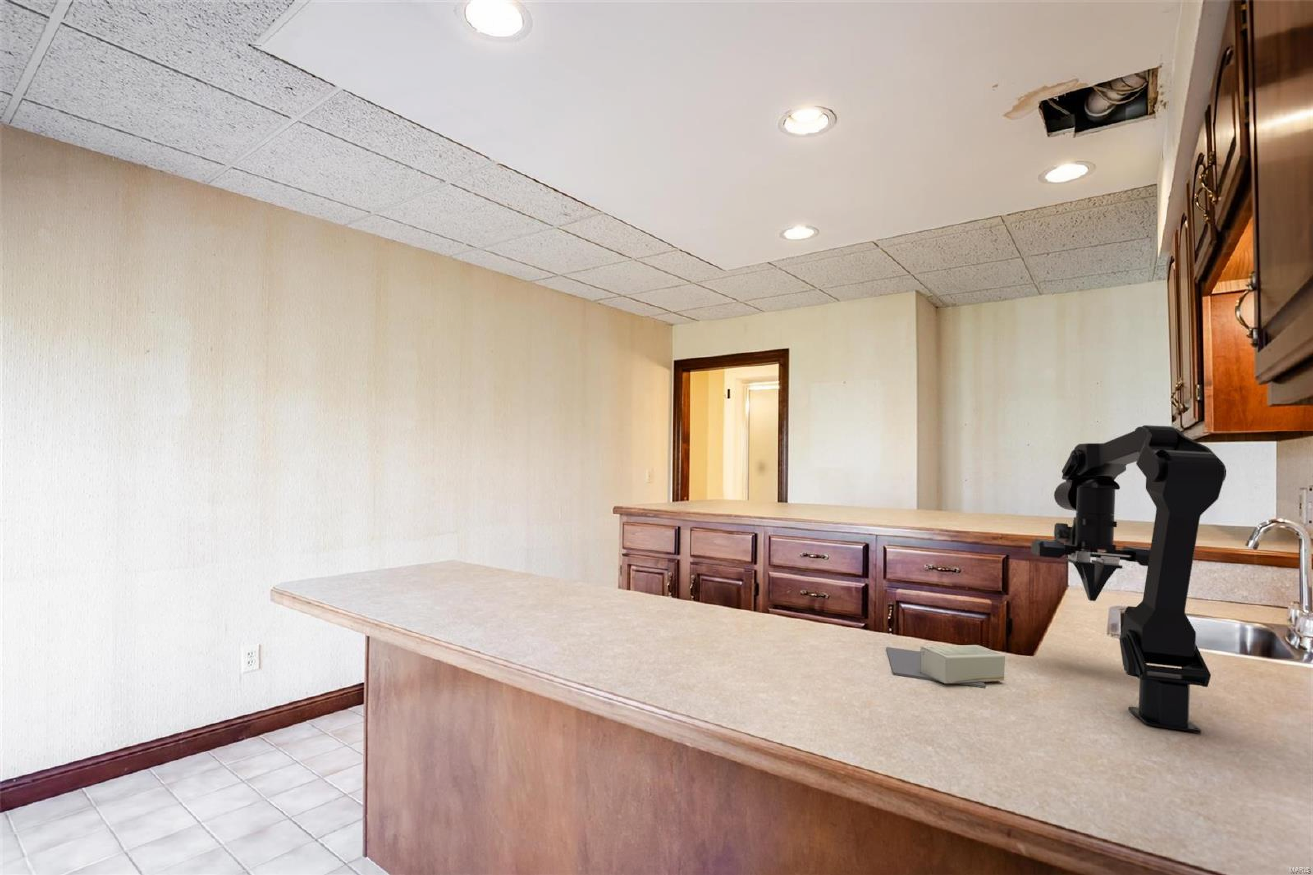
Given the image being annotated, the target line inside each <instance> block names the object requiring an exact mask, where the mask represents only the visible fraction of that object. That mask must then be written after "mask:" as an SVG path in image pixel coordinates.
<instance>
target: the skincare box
mask: <svg viewBox="0 0 1313 875" xmlns="http://www.w3.org/2000/svg"><path fill="white" fill-rule="evenodd" d="M1005 666H1006V655H1005V654H1003V653H1000V652H998V651H995V650H992V649H990V648H987V647H984V646H982V645H978V644H969V645H968V644H966V645H963V644H962V645H933V646H931V645H930V646H929V645H927V646H925V645H924V646H920V672H922V673H924V674H926V675H928V676H930V677H932V678H934V679H936V680H938V681H937V682H940V681H941V682H940V683H944V684H954V683H964V682H984V683H985V682H1001V681H1002V682H1004V681H1005Z"/></svg>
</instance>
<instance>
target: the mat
mask: <svg viewBox="0 0 1313 875" xmlns="http://www.w3.org/2000/svg"><path fill="white" fill-rule="evenodd" d="M885 651H886V654H887V657H888V660H889V664H890V668H891V672H892V675H893V676H899V677H906V678H914V679H920V680H928V681H934V682H940V683H942V682H941V681H938V680H936V679H934V678H932V677H930V676H928V675H926V674H924V673H922V672H920V651H919V650H913V649H911V650H910V649H904V648H897V647H890V646H886V647H885ZM953 684H955V685H960V686H968V685H971V686H970V687H975V686H980V687H979V688H982V687H986V686H987V685H986V684H985V682H964V683H953Z"/></svg>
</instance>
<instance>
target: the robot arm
mask: <svg viewBox="0 0 1313 875" xmlns="http://www.w3.org/2000/svg"><path fill="white" fill-rule="evenodd" d="M1133 463H1136V464H1135V465H1136V466H1137V467H1138V469H1139V470H1140V472H1142V474H1143V475H1144V476H1145V491H1146V492H1147V494H1148V495H1149V497H1150V499H1151V500H1152V502H1153V504H1154V506H1155V508H1156V509H1155V515H1154V516H1155V517H1154V522H1153V523H1154V524H1153V529H1152V537H1151V542H1150V548H1147V547H1140V546H1128V545H1123V546H1122V548H1121V549H1118V548H1117V545H1116V544H1114V541H1115V540H1114V538H1115V537H1114V535H1115V534H1114V533H1115V532H1114V531H1115V528H1117V526H1118V522H1117V521H1116V520H1115V509H1116V508H1115V507H1116V506H1115V505H1116V490H1117V491H1118V490H1120V488H1121V486H1120V484H1119V483H1118V482H1117V481H1116V478H1117V477H1118V476H1120V475H1121V474H1123V473H1125V472H1126V471H1127V465H1129V464H1133ZM1061 473H1062V476H1061V479H1062V481H1063V480H1065V481H1064V482H1062V483H1060V484H1058V486H1057V487H1055V491H1054V494H1053V497H1054V500H1055V503H1056V504H1057V505H1058V506H1059V507H1060V508H1062V509H1064V510H1068V511H1075V516H1074V517H1073V520H1072V526H1069V524H1067V523H1062V522H1057V523H1055V524H1054V528H1053V529H1054V530H1053V537H1054V539H1045V538H1044V539H1043V538H1035V539H1033V540H1032V541H1031V548H1030V549H1031V550H1030V553H1031V554H1034V555H1036V556H1038V557H1043V558H1051V559H1052V558H1053V559H1061V558H1062V557H1064V556H1067V557H1065V561H1066V562H1068V563H1071V564H1073V566H1074V567H1075V569H1076V571H1077V573H1078V574H1079V575H1078V576H1079V577H1080V580H1081V583H1082V586H1083V588H1084V590H1085V594H1086V597H1087V599H1088V600H1089V601H1090V602H1096V601H1097V600H1098V598H1099V596H1100V594H1101V592H1102V591H1103V589H1104V587H1105V586H1106V584H1107V582H1108V581H1109V579H1110V578H1111V577H1112V576H1113V574H1114V573H1115V571H1116V570H1117V569H1120V570H1121V569H1123V567H1124V566H1123V565H1121V564H1120V560H1121V561H1125V562H1129V563H1130V562H1132V563H1137V564H1138V565H1139V566H1144V567H1147V569H1146V570H1147V571H1146V577H1145V583H1144V584H1145V585H1144V590H1143V597H1142V600H1141V602H1140V603H1138V605H1136V606H1130V605H1128V606H1127V607H1126V609H1125V610H1124V612H1123V613H1124V616H1123V617H1124V618H1123V624H1122V627H1121V628H1120V630H1121V632H1120V634H1119V639H1118V640H1119V645H1120V646H1119V647H1120V653H1121V660H1122V666H1123V670H1124V671H1125V674H1126V675H1128V676H1130V677H1134V678H1138V679H1139V683H1138V684H1139V688H1138V707H1137V706H1128V707H1127V708H1128V711H1130V713H1132V714H1133V715H1134V716H1135V717H1136V718H1138V719H1139V720H1140V721H1141V722H1143V723H1145V725H1147V726H1151V727H1157V728H1158V727H1159V728H1164V729H1171V730H1176V731H1178V730H1179V731H1184V732H1191V733H1196V734H1197V733H1198V734H1201V732H1202V729H1201V728H1200V727H1198V726H1197V725H1196V724H1194V723H1193V722H1191V721H1190V696H1191V694H1190V693H1191V685H1192V686H1198V687H1203V688H1208V687H1209V684H1210V681H1211V672H1210V670H1209V667H1208V666H1207V664H1206V662H1205V660H1204V657H1203V656H1202V654H1201V652H1200V650H1199V648H1198V646H1197V644H1196V643H1197V642H1196V639H1197V631H1196V630H1195V628H1194V627H1193V624H1192V623H1191V621H1190V620H1189V617H1188V616H1187V614H1186V608H1187V602H1188V601H1187V599H1188V593H1189V588H1190V587H1189V586H1190V582H1191V577H1192V570H1193V569H1192V568H1193V564H1194V557H1195V551H1196V543H1197V537H1198V533H1199V532H1198V531H1199V526H1200V520H1201V517H1202V515H1203V514H1204V513H1205V512H1206V511H1207V510H1208V509H1209V508H1210V507H1211V506H1212V505H1213V504H1215V503H1216V502H1217V501H1218V500H1219V498H1220V495H1221V490H1222V488H1223V484H1224V482H1225V480H1226V476H1227V469H1226V466H1225V463H1224V462H1223V461H1222V460H1221V459H1220V458H1219V457H1218V456H1217V455H1216V454H1215V452H1214V451H1212V449H1210V448H1209V447H1208V446H1206V445H1204V444H1202V443H1200V442H1198V441H1197V440H1196V441H1195V440H1193V438H1189V437H1188V436H1186V435H1185V434H1184V433H1183V432H1182V431H1181V430H1180V429H1178V428H1175V427H1174V426H1171V425H1170V426H1169V425H1167V426H1166V425H1150V424H1144V425H1142V426H1137V427H1136V428H1135V430H1133V431H1130V432H1128V433H1126V434H1123V435H1120V436H1117V437H1115V438H1114V439H1111V440H1108V441H1106V442H1102V443H1099V442H1097V443H1095V442H1094V443H1092V442H1091V443H1089V442H1088V443H1079V444H1077V445H1076V446H1075V447H1074V449H1073V450H1072V451H1071V452H1070V455H1069V457H1068V458H1067V460H1066V462H1065V465H1064V466H1063V468H1062V470H1061ZM1064 542H1065V543H1064ZM1091 558H1095V559H1092V560H1091Z"/></svg>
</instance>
